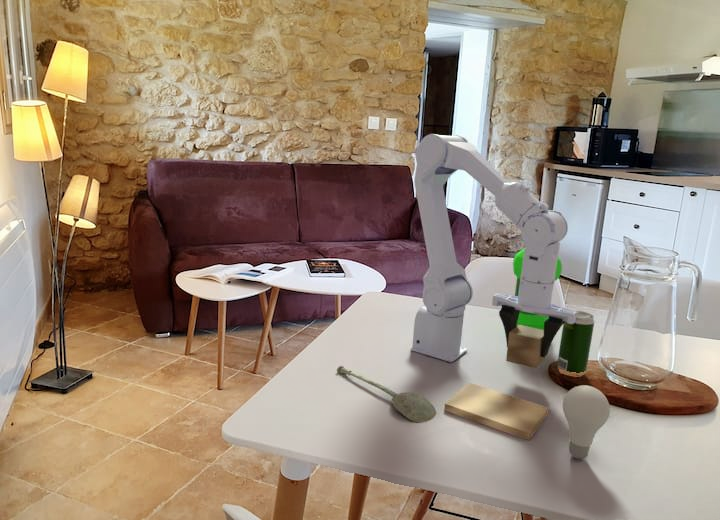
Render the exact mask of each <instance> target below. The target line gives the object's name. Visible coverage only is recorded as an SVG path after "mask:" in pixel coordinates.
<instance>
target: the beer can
mask: <svg viewBox="0 0 720 520" xmlns="http://www.w3.org/2000/svg"><path fill="white" fill-rule="evenodd" d="M574 311H577V314H576V320H575V322H574V323H573V324H569V323H567V322H564V323H563V325H562V330H561V336H560V337H561V338H560V344H559V349H558V355H557V364H556V367H557V366H558V367H559V368H560V369H562V370H565V371H569V372H576V373H580V372H584V371H586V372H587V369H588V362H589V356H590V352H591V351H590V350H591V345H592V344H591V343H592V339H593V338H592V337H593V333H594V327H595V326H594V325H595V320H594V318H595V316H594V314H592V313H589V312H587V311H582V310H575V309H574Z"/></svg>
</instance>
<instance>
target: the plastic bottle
mask: <svg viewBox="0 0 720 520" xmlns="http://www.w3.org/2000/svg"><path fill="white" fill-rule="evenodd" d="M524 250H525V247H523V248H522V249H521V250H520V251H518V252H517V253H515V255H514V257H513V260H512V270H513V273H514V275H515V277H516V281H515V282H516V283H515V292H514V296H518V293H519V285H520V278H521V271H522V264H523V257H524ZM562 268H563V266H562V261H561V259H560V257H558V260H557V267H556V273H555V280H554V282H556V281H557V280H558V279H559V278H560V276H561V274H562V270H563V269H562ZM547 319H549V317H545V316H540V315H536V314H532V313H528V312H524V311H520V313H519V317H518V321H517V326H518V325H523V326H528V327H532V328H537V329H541V330H544V322H545V321H546V320H547ZM517 326H516V327H517Z"/></svg>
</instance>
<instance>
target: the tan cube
mask: <svg viewBox="0 0 720 520" xmlns="http://www.w3.org/2000/svg"><path fill="white" fill-rule="evenodd" d="M543 336H544V330H541V329H537V328H532V327H528V326H523V325H518V326H517V327H515V328H514V329H513V330H512V331H510V332H509V338H508V347H506V348H507V350H506V359H505V362H509V363H512V364H515V365H519V366H523V367H527V368H530V369H534V370H535V369H536V370H537V369H538V368H539V367H540V365H541V364H542V363H543V362H544V361H545V360H546V356H545V357H540V354H541V348H542V343H543Z"/></svg>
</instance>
